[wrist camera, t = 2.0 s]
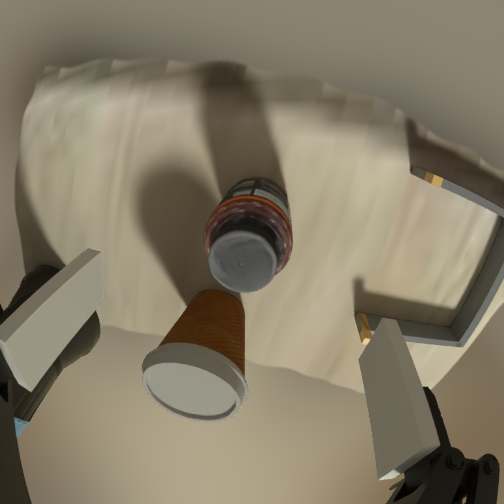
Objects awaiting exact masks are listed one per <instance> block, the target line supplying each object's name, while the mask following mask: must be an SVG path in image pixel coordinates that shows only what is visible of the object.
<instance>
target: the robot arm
mask: <svg viewBox="0 0 504 504" xmlns="http://www.w3.org/2000/svg"><path fill="white" fill-rule="evenodd" d="M104 300H105V294H104V285H103V275H102V263H101V252H99V251H96V250H92V249H89V248H88V249H87V250H85V251H84V252H83V253H82V254H80V255H79V256H78V257H77V258H75V259H74V260H73V261H72V262H70V263H69V264H68V265H67V266H65V267H64V268H63V269H62V270H61V271H59V270H57V269H55V268H53V267H50V266H45V265H42V266H37V267H35V268H34V269H33V270H32V271H30V272H29V273H28V274H27V275H26V276H25V277H24V278H23V280H22V282H21V284H20V287H19V289H18V290H17V292H16V294H15V295H14V297H13V299H12V300H11V302H10V304H9V306H8V307H7V308H6V309H5V310H4V311H3V309H2V307H1V304H0V504H32V503H31V500H30V497H29V493H28V489H27V486H26V482H25V478H24V474H23V469H22V465H21V460H20V455H19V449H18V443H17V437H18V436H19V434H20V433H21V432H22V430H23V429H24V428H25V426H26V425H28V424H29V422H30V420H31V418H32V417H33V415H34V413H35V412H36V410H37V408H38V406H39V405H40V403H41V402H42V400H43V399H44V397H45V396H46V394H47V392H48V391H49V389H50V388H51V386H52V384H53V383H54V382H55V380H56V379H57V377H58V376H59V374H60V373H61V372H62V370H63V369H64V368H66V367H67V366H69V365H70V364H72V363H73V362H75V361H76V360H78V359H79V358H80V357H82V356H84V355H86V354H88V353H89V352H90V351H91V350H92V349H93V347H94V346H95V344H96V343H97V342H98V340H99V337H100V324H99V320H98V317H97V315H96V312H95V310H96V309H97V308H98V307H99V306H100V305H101V303H102V302H103V301H104ZM358 360H359V364H360V369H361V374H362V379H363V384H364V389H365V395H366V400H367V406H368V411H369V417H370V423H371V430H372V437H373V444H374V451H375V459H376V466H377V476H378V480H383V479H392V478H395V477H397V476H399V475H400V474H402V473H403V472H404V475H405V478H404V479H402V480H401V481H399V482H398V483H396V484H394V485H393V486H391V488H390V490H392V489H394V488H396V487H397V488H396V490H395V491H394V493H393V494H392V496H391V497H390V499H389V500H388V502H387V503H386V504H462V500H463V498H465V497H467V499H466V503H465V504H496V502H497V494H498V485H499V471H500V469H499V463H498V460H497V459H496V457H495V456H494V455H492V454H485V455H483V456H482V457H481V458H479V459H478V460H473V459H467V458H465V457H464V455H463V453H462V452H461V451H460V450H459V449H457V448H454V447H451V445H450V442H449V438H448V435H447V431H446V428H445V425H444V422H443V419H442V417H441V413H440V410H439V408H438V404H437V401H436V398H435V396H434V394H433V393H432V392H431V390H430V389H429V388H428V387H422V384H421V381H420V379H419V376H418V373H417V370H416V368H415V365H414V362H413V360H412V357H411V355H410V352H409V350H408V347H407V345H406V342H405V340H404V337H403V335H402V333H401V330H400V328H399V325H398V323H397V321H396V320H393V319H387V318H382V319H381V321H380V323H379V325H378V327H377V329H376V330H375V332H374V334H373V336H372V338H371V339H370V341H369V343H368V344H367V346H366V348H365V350H364V351H363V353H362V355H361V356H360V358H359V359H358Z"/></svg>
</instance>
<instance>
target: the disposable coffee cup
mask: <svg viewBox="0 0 504 504" xmlns="http://www.w3.org/2000/svg"><path fill="white" fill-rule="evenodd" d="M244 364H245V313H244V309H243V307H242V305H241V303H240V302H239V301H238V300H237V299H236V298H235V297H233V296H232V295H230V294H228V293H226V292H223V291H219V290H208V291H203V292H201V293H199V294H198V295H196V296H195V298H194V299H193V300H192V302H191V303H190V304H189V306H188V307H187V308H186V310H185V311H184V312H183V314H182V315H181V316H180V318H179V319H178V320H177V322H176V323H175V324H174V326H173V327H172V328H171V330H170V331H169V332H168V334H167V335H166V337H165V338H164V340H163V341H162V342H161V344H160V345H159V346H158V347H157V348H156V349H154V350H153V351H151V352H150V353H149V354H147V356H146V357H145V359H144V361H143V364H142V372H143V376H142V383H143V387H144V389H145V391H146V392H147V394H148V395H149V396H150V398H151V399H152V400H154V402H156V403H157V404H158V405H160V406H161V407H162V408H164V409H165V410H167V411H169V412H171V413H173V414H175V415H177V416H180V417H182V418H186V419H189V420H193V421H199V422H218V421H224V420H227V419H229V418H231V417H233V416H234V415H235V414H236V413H237V412H238V411H239V409H240V407H241V406H242V405H243V404H244V403H245V401H246V399H247V396H248V386H247V383H246V380H245V373H244V372H245V365H244Z"/></svg>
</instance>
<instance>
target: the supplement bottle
mask: <svg viewBox="0 0 504 504" xmlns="http://www.w3.org/2000/svg"><path fill="white" fill-rule="evenodd" d="M291 221H292V220H291V213H290V206H289V202H288V199H287V196H286V194H285V192H284V191H283V190H282V189H281V187H280V186H278V185H277V184H276V183H275V182H273V181H271V180H268V179H265V178H259V177H252V178H248V179H245V180H242V181H240V182H239V183H237V184H236V185H235V186H234V187H232V188H231V190H230V191H229V192H228V193H227V195H226V196H225V198H224V199H223V200H222V201H221V203H220V204H219V206H218V207H217V208H216V210H215V211H214V213H213V214H212V215H211V217H210V219H209V221H208V223H207V225H206V228H205V232H204V247H205V252H206V255H207V257H208V264H209V268H210V271H211V273H212V275H213V277H214V278H215V279H216V280H217V281H218V282H219V283H220V284H221V285H223V286H224V287H226V288H228V289H230V290H232V291H235V292H242V293H249V292H254V291H257V290H260V289H262V288H263V287H265V286H266V285H267V284H268V283H270V282H271V280H272V279H273V277H274V276H275V275H277V274H278V273H279V272H280V271H281V270H282V269H283V268H284V267H285V265H286V264H287V262H288V260H289V258H290V256H291V251H292V245H293V238H292V224H291Z"/></svg>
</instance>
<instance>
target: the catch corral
mask: <svg viewBox="0 0 504 504" xmlns="http://www.w3.org/2000/svg"><path fill="white" fill-rule="evenodd" d="M411 174H413V175H415V176H417V177H419V178H421V179H423V180H425V181H427V182H429V183H431V184H433V185H436V186H438V187H440V188H441V187H442V188H444V189H447V190H449V191H451V192H453V193H456V194H458V195H460V196H462V197H464V198H466V199H468V200H470V201H473V202H475V203H477V204H479V205H481V206H483V207H485V208H487V209H489V210H490V211H492V212H494V213H496V214H498V215H500V216H502V217H504V209H503V208H501V207H499V206H497V205H496V204H494V203H492V202H490V201H488V200H486V199H484V198H483V197H481V196H479V195H477V194H475V193H473V192H471V191H469V190H467V189H465V188H463V187H461V186H459V185H456V184H454V183H452V182H450V181H448V180H446V179H443V178H441V177H439V176H437V175H434V174H432V173H430V172H427V171H425V170H423V169H420V168H418V167H415V166H413V167H412V170H411ZM503 279H504V218H503V220H502V223H501V226H500V228H499V231H498V234H497V236H496V239H495V241H494V244H493V246H492V248H491V251H490V253H489V255H488V258H487V260H486V262H485V264H484V266H483V268H482V271H481V273H480V275H479V277H478V279H477V281H476V283H475V285H474V287H473V289H472V290H471V292H470V294H469V296H468V298H467V300H466V302H465V303H464V305H463V307H462V309H461V310H460V312H459V314H458V315H457V317H456V319H455V320H454V322H453V324H452V325H451V327H444V326H438V325H431V324H425V323H418V322H412V321H406V320H400V319H394V318H388V317H382V316H376V315H371V314H365V313H359V312H357V313H356V315H355V321H356V325H357V328H358V332H359V335H360V339H361V343H362V344H368V343H369V341H370V339H371V338H372V336H373V334H374V332H375V330H376V329H377V327H378V325H379V323H380V321H381V319H382V318H387V319H393V320H396V321H397V323H398V325H399V328H400V330H401V333H402V335H403V337H404V340H405V341H407V342H416V343H424V344H434V345H444V346H455V347H463V346H464V345H465V343H466V342H467V341H468V339H469V338H470V336H471V335H472V333H473V331H474V330H475V328H476V327H477V325H478V324H479V322H480V320H481V319H482V317H483V315H484V314H485V312H486V310H487V309H488V307H489V305H490V303H491V302H492V300H493V298H494V296H495V294H496V292H497V290H498V289H499V287H500V285H501V283H502V281H503Z"/></svg>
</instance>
